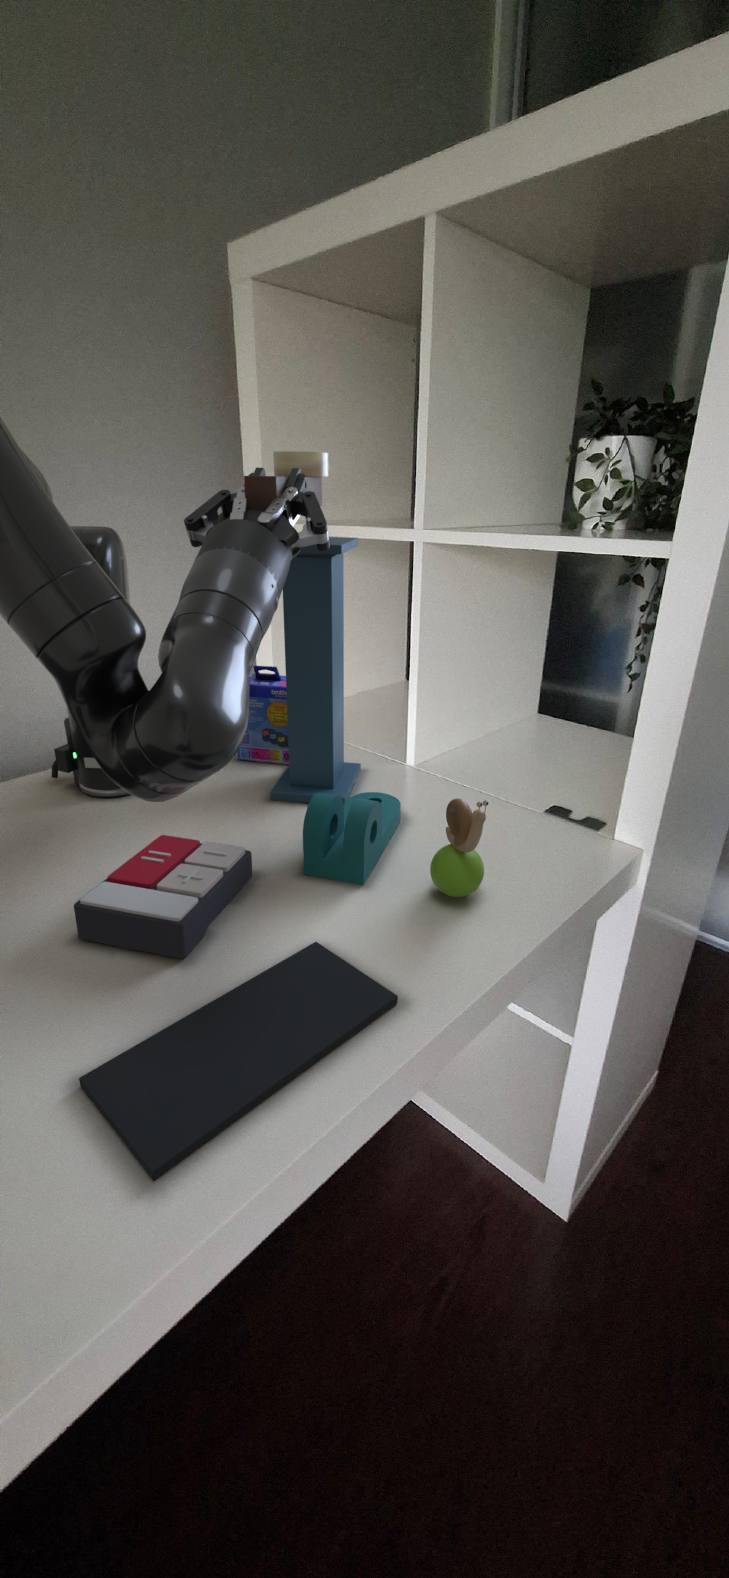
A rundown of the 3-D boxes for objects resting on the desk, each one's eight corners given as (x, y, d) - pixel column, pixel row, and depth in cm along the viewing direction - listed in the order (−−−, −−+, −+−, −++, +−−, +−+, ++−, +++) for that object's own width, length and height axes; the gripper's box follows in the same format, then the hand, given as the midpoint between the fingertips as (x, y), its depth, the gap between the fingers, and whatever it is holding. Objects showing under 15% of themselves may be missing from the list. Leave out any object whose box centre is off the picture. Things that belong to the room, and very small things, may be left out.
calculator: (252, 844, 72) (180, 918, 59) (254, 880, 74) (184, 960, 60) (159, 829, 75) (69, 897, 61) (162, 865, 76) (76, 938, 63)
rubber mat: (153, 1181, 42) (152, 1172, 41) (80, 1086, 48) (78, 1077, 48) (397, 1003, 56) (398, 995, 56) (316, 948, 62) (315, 941, 62)
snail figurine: (450, 917, 67) (458, 807, 62) (419, 884, 72) (425, 780, 67) (497, 905, 69) (509, 797, 64) (464, 874, 74) (472, 772, 69)
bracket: (363, 885, 72) (364, 818, 69) (303, 874, 74) (301, 808, 71) (405, 812, 88) (408, 755, 84) (355, 804, 89) (355, 748, 86)
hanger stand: (344, 806, 89) (344, 545, 76) (270, 800, 91) (257, 543, 77) (360, 770, 100) (363, 537, 87) (294, 765, 101) (286, 535, 88)
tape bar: (293, 512, 62) (291, 446, 60) (230, 511, 63) (225, 445, 61) (335, 506, 78) (334, 453, 76) (283, 505, 79) (282, 453, 77)
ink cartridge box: (235, 761, 103) (228, 665, 97) (248, 748, 108) (242, 656, 102) (298, 766, 101) (295, 670, 95) (309, 753, 106) (306, 660, 100)
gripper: (309, 553, 53) (347, 438, 63) (139, 547, 55) (201, 438, 65) (321, 628, 59) (354, 513, 69) (168, 621, 61) (220, 510, 71)
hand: (279, 477), depth 67 cm, fingers closed on tape bar, 3 cm apart
